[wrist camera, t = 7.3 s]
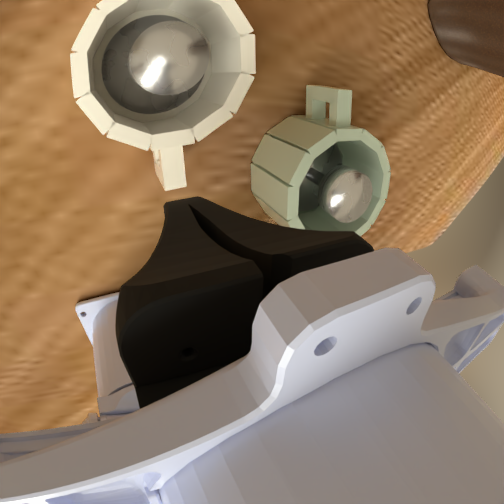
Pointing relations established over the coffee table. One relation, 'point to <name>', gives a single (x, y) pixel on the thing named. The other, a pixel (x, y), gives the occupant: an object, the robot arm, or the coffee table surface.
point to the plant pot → (471, 31)
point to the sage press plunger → (335, 187)
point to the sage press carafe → (306, 150)
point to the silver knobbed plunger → (154, 64)
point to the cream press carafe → (191, 111)
